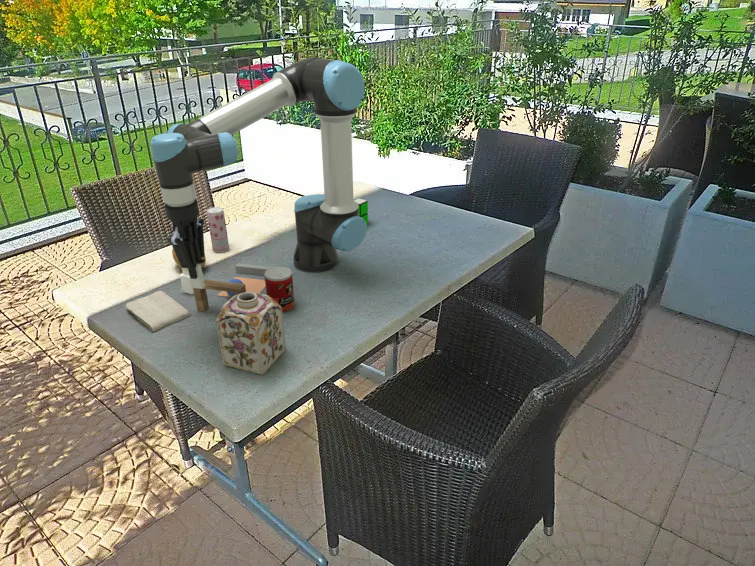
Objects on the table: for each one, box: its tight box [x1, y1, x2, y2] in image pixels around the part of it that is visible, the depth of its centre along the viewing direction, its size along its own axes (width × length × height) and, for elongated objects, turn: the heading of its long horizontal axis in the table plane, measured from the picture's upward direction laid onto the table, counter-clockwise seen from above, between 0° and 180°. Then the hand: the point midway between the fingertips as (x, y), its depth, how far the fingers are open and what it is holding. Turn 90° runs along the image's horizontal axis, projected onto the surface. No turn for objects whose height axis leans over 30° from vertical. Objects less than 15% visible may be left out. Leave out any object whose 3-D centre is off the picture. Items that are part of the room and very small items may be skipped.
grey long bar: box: [234, 262, 273, 277], centre depth 175 cm, size 14×2×2 cm, turn 77°
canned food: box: [264, 266, 296, 313], centre depth 155 cm, size 8×8×11 cm
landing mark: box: [217, 276, 266, 298], centre depth 167 cm, size 12×12×1 cm
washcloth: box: [125, 290, 191, 332], centre depth 154 cm, size 12×18×3 cm, turn 47°
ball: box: [227, 278, 243, 297], centre depth 162 cm, size 6×6×6 cm
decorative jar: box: [215, 292, 287, 376], centre depth 132 cm, size 12×12×18 cm
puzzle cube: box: [353, 196, 369, 226], centre depth 208 cm, size 10×10×10 cm
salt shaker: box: [179, 268, 194, 295], centre depth 163 cm, size 4×4×10 cm
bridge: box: [193, 279, 246, 313], centre depth 153 cm, size 3×14×9 cm, turn 77°
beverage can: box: [206, 206, 230, 254], centre depth 188 cm, size 6×6×15 cm
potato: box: [171, 248, 207, 269], centre depth 177 cm, size 10×14×8 cm
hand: (198, 286), depth 140 cm, fingers closed
